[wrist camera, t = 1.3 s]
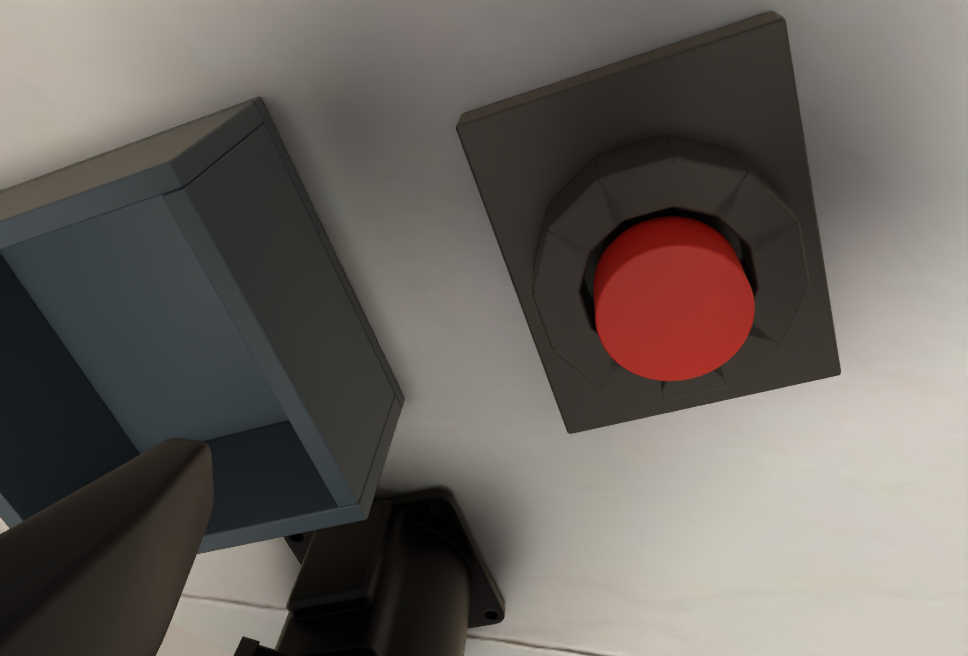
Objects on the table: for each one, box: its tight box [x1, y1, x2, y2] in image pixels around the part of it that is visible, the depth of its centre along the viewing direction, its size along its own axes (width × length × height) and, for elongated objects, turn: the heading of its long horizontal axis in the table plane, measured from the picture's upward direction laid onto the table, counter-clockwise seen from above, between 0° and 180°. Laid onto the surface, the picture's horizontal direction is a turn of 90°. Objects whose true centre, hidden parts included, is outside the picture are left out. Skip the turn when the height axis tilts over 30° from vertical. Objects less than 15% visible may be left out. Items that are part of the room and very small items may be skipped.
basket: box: [0, 97, 405, 554], centre depth 22 cm, size 10×10×6 cm
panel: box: [456, 11, 841, 434], centre depth 20 cm, size 10×8×3 cm
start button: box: [593, 216, 755, 381], centre depth 19 cm, size 4×4×2 cm
